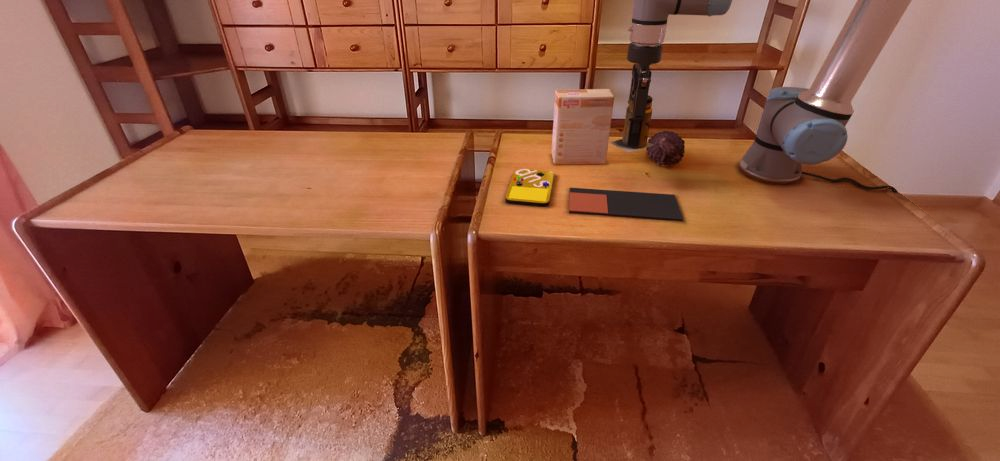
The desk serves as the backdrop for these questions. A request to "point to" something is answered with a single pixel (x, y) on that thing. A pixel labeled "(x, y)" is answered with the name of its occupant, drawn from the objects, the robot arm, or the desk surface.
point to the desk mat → (624, 204)
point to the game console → (530, 188)
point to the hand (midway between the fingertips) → (631, 140)
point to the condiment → (644, 130)
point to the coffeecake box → (581, 126)
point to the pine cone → (666, 148)
